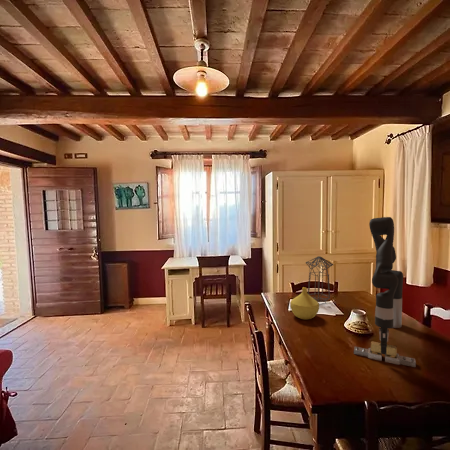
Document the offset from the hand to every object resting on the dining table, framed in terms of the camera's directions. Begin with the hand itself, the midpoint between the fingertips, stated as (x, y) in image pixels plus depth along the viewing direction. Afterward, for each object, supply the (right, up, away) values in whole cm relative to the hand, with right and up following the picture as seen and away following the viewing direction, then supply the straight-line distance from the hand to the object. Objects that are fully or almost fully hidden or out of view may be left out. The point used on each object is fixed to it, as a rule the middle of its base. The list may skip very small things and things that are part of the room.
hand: (383, 349), depth 133 cm
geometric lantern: (-4, 0, +80) cm, 80 cm away
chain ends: (0, -4, 0) cm, 4 cm away
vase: (-22, -2, +53) cm, 57 cm away
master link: (0, -4, 0) cm, 4 cm away
